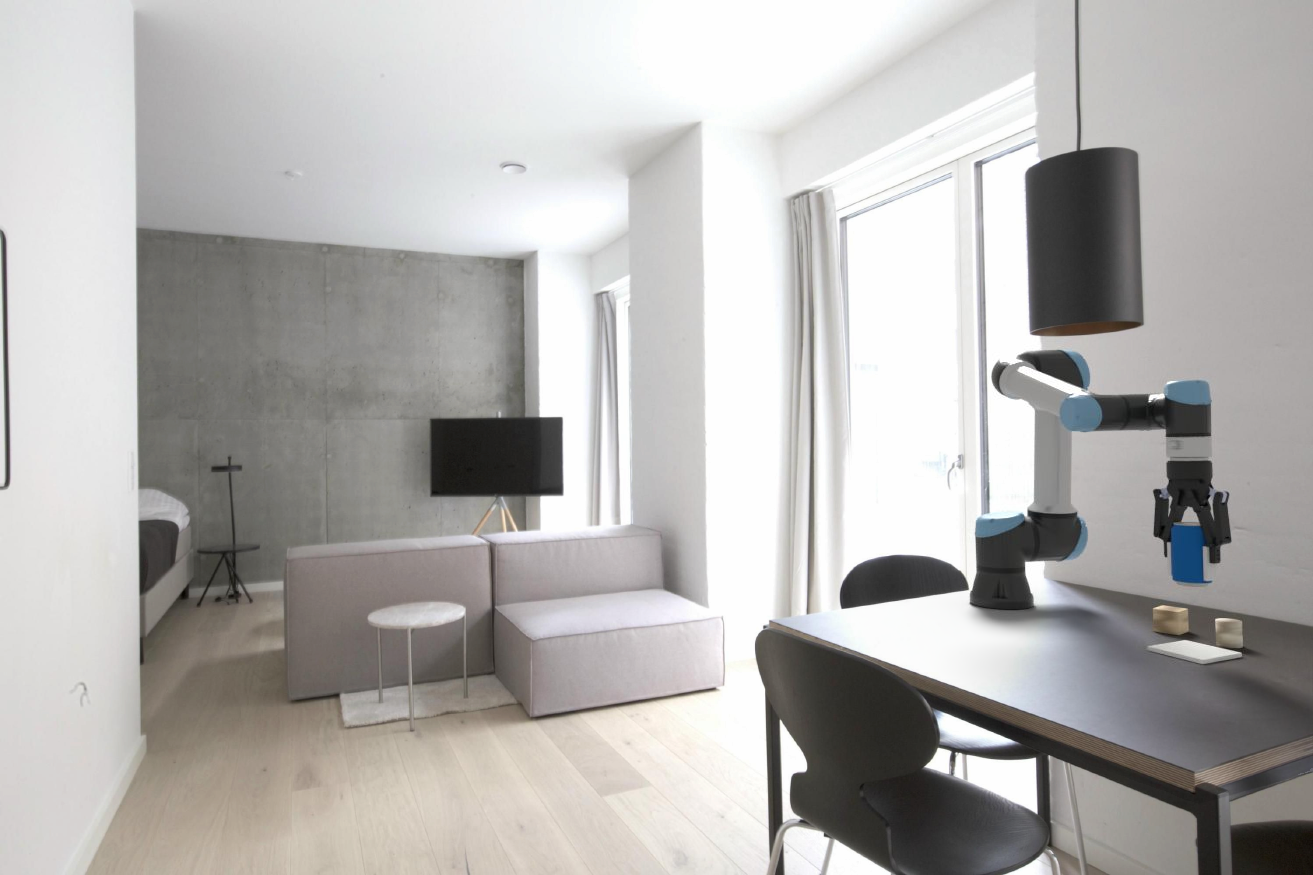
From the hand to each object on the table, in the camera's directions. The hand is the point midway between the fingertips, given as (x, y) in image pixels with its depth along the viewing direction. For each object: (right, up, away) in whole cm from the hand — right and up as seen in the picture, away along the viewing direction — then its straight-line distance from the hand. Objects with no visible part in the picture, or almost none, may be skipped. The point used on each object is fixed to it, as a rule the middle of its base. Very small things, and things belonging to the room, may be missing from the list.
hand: (1192, 577), depth 157 cm
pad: (0, -15, 0) cm, 15 cm away
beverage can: (0, -2, 0) cm, 2 cm away
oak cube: (+7, -15, +18) cm, 24 cm away
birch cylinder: (+11, -15, +5) cm, 19 cm away
